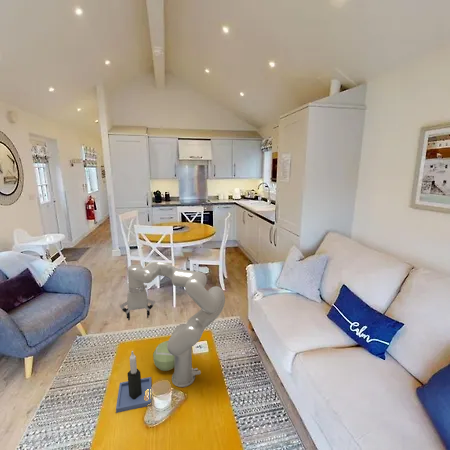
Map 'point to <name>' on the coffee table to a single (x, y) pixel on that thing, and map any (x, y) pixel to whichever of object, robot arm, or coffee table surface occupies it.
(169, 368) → the decorative sphere
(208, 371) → the coffee table surface
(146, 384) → the slate blue tray
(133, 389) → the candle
